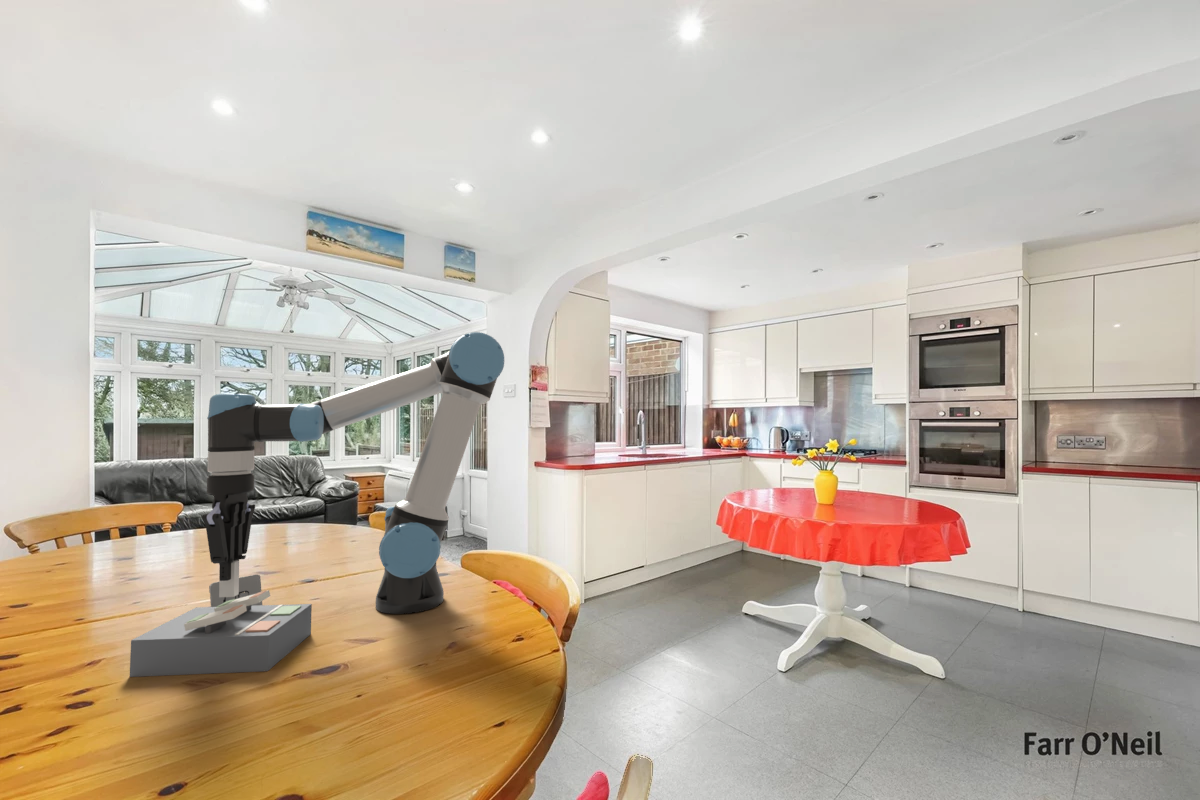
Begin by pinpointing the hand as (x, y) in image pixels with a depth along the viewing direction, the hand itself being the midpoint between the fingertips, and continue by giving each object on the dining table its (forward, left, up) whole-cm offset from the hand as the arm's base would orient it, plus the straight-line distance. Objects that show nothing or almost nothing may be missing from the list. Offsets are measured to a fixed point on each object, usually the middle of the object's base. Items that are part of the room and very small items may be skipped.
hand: (228, 595), depth 100 cm
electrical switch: (+6, -13, -10) cm, 17 cm away
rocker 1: (-3, +8, -1) cm, 9 cm away
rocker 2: (-3, 0, -1) cm, 3 cm away
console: (-3, +4, -9) cm, 10 cm away
